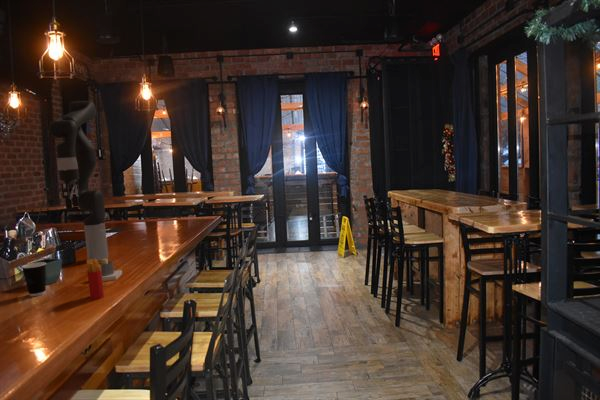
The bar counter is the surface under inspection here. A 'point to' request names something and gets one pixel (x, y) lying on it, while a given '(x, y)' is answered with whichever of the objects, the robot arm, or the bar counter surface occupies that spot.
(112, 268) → the ring
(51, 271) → the flower pot
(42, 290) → the dixie cup
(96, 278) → the french fries
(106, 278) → the stand
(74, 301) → the bar counter surface
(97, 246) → the robot arm
